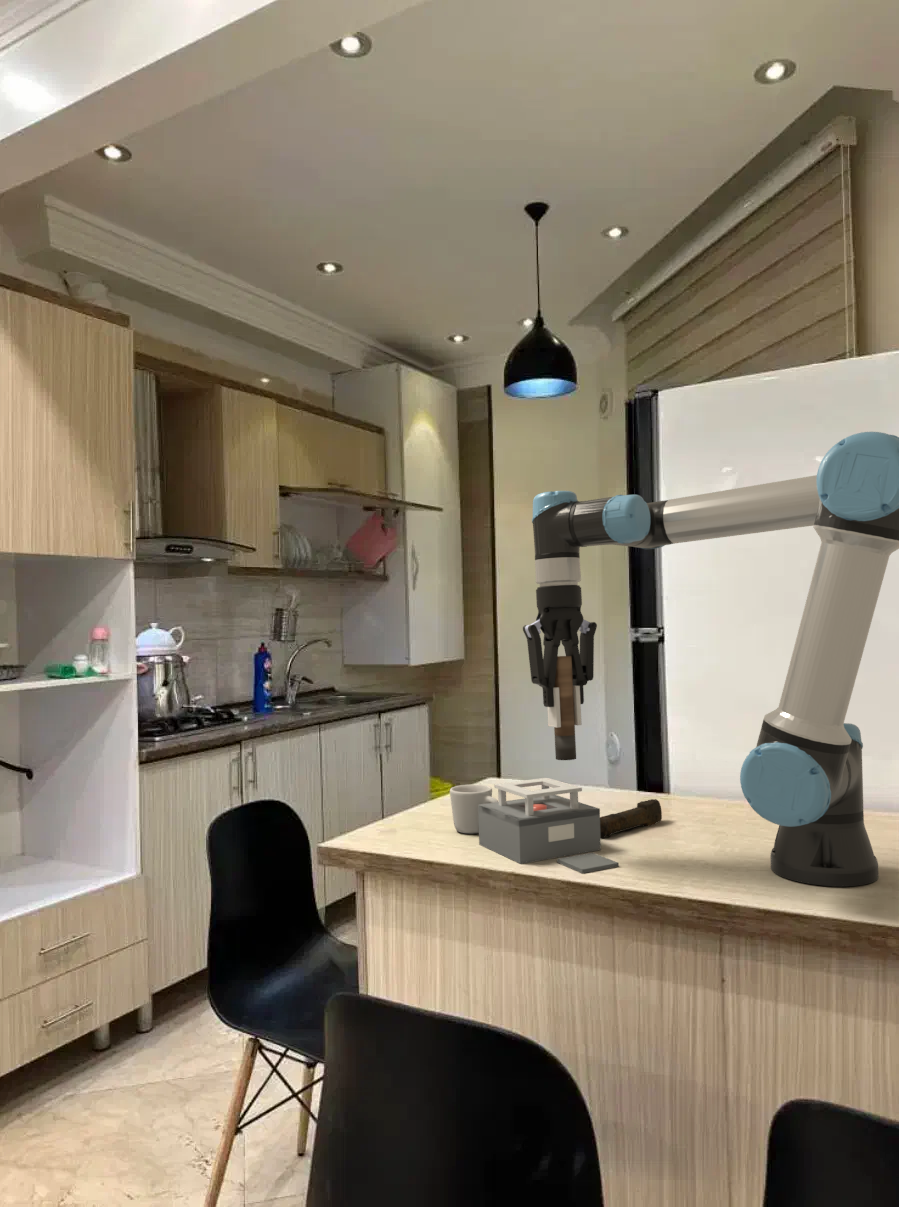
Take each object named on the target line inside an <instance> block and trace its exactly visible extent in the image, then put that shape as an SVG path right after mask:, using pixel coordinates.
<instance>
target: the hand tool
mask: <svg viewBox="0 0 899 1207" xmlns="http://www.w3.org/2000/svg"><path fill="white" fill-rule="evenodd" d="M662 819H663V812H662V806H661V803H660V801H659V800H658V799H656V798H655V799H652V798H651V799H648V800H644V801H639V802H637V803H636V807H633V808H630V809H628V810H627V809H626V810H622V811H619V812H615V813H610V814H607V815H604V816H603V815H602V816H600V837H601V840H603V839H605V838H606V837H611V835H613V834H615V833H619V832H622V831H626V830H629V829H633V828H636V827H639V826H642V827H651V826H654V825H656V824H658V823H660V821H662Z"/></svg>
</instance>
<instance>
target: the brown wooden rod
mask: <svg viewBox="0 0 899 1207" xmlns="http://www.w3.org/2000/svg"><path fill="white" fill-rule="evenodd" d="M554 687H558V688H559V696H560V718H561V727H558V728H557V727H553V730H554V750H555V751H554V752H555V760H558V761H574V760H576V759H577V747H576V746H577V745H576V743H577V742H576V727H575V726H576V725H575V720H574V699H573V678H572V657H571V656H566V655H558V656H557V667H556V677H555V685H554Z"/></svg>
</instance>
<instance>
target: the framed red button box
mask: <svg viewBox="0 0 899 1207" xmlns="http://www.w3.org/2000/svg"><path fill="white" fill-rule="evenodd" d="M493 785H494V786H493V788H494V789H497V790H498V792H497V794H498V795H497V796H498V799H497V800H498V802H495V803H488V804H480V805H478V816H479V833H478V843H479V846H482V847H484V848H486V849H488V850H490V851H492V852H495V853H496V854H498V855H501V856H502V857H505V858H507V859H510V860H511V861H514V862H516V863H518V864H520V865H522V864H526V863H532V862H538V861H544V860H550V859H551V860H552V859H554V858H555V859H556V858H563V857H569V856H572V855H573V856H575V855H581V854H586V853H592V852H596V851H601V849H602V844H601V843H602V842H601V840H602V839H601V837H600V817H601V812H600V811H601V809H600V808H598V807H596V806H592V805H589V804H587V803H583V802H579V792H582V791H583V787H581V786H579V785H574V784H572V783H571V784H570V783H567V782H562V781H560V780H557V779H553V778H549V777H540V778H532V779H525V780H518V781H509V782H502V783H501V782H499V783H495V784H493ZM534 786H541V789H534V790H531V789H527V788H528V787H534ZM507 793H508V794H512V795H515V796H518V797H520V798H519V799H512V800H507ZM565 794H569V798H567V797H564V796H560V795H565ZM533 804H544V805H546V806H547V809H545V810H538V811H533Z"/></svg>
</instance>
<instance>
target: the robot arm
mask: <svg viewBox="0 0 899 1207" xmlns="http://www.w3.org/2000/svg"><path fill="white" fill-rule="evenodd" d="M531 523H532V530H533V543H534V544H533V545H534V568H535V583H536V584H537V585H539V587H537V589H535V594H536V595H535V596H536V608H537V616H536V620H534V622H532V623H530V624H524V626H522V631H523V633H524V636H525V638H526V642H527V650H528V651H527V652H528V660H529V661H528V662H529V668H530V679H531V683H532V684H534V685H537V686H539V687H541V688H542V703H543V706H544V707H545V708H547V725H548V727H552V728H554V727H557V728H558V727H561V718H560V696H559V688H558V687H554V685H555V677H556V667H557V656H559V655H558V653H559V647H560V646H561V644H562V646H563V648H564V653H565V656H571V657H572V678H573V699H574V720H575V726H582V706H581V705H583V704H584V702H585V696H584V694H585V692H584V686H586V685H587V684H588V682H589V681H592V680H594V669H595V668H594V665H595V664H594V663H595V662H594V661H595V660H594V659H595V658H594V657H595V653H594V652H595V649H594V648H595V646H594V645H595V633H596V631H597V628H598V624H597V623H596V622H595V621H588V620H586V619H584V616H583V614H582V612H581V611H582V610H581V609H582V605H583V598H582V597H583V595H582V587H581V585H578V583H580V582H581V581H582V574H581V573H582V572H581V559H580V551H581V550H580V549H581V548H585V547H586V548H587V547H594V546H595V547H596V546H606V545H607V546H609V545H610V546H613V545H614V546H621V547H630V548H631V547H633V548H639V549H643V550H655V549H660V548H663V547H665V546H669V545H673V544H679V543H680V544H681V543H689V542H698V541H704V540H713V539H720V538H727V537H735V536H742V535H749V534H750V535H751V534H758V533H768V532H774V531H782V530H788V529H789V530H790V529H796V528H804V527H805V528H806V527H812V526H813V528H814V531H816V534H817V535H818V536H819V538H820V542H821V544H820V547H819V551H818V554H817V558H816V562H815V566H814V569H813V574H812V578H811V581H810V585H809V589H808V593H807V596H806V599H805V605H804V608H803V612H802V615H801V616H802V617H801V620H800V623H799V626H798V627H799V628H798V630H797V635H796V639H795V644H794V647H793V651H792V654H791V658H790V662H789V666H788V670H787V673H786V677H785V680H784V686H783V688H782V692H781V696H780V699H779V703H778V704H779V705H778V707H777V708H775V709H774V710H773V711H770V712H768V713H766V714H765V715H764V717H763V720H762V724H761V728H760V732H759V735H758V739H757V743H756V746H755V748H753V749H751V750H750V751H749V754H748V755H747V756H746V758H745V759H744V761H743V763H742V766H741V767H740V768H741V769H740V773H739V774H740V775H739V782H740V787H741V791H742V793H743V796H744V798H745V799H746V801H747V803H748V804H749V806H750V808H751V809H752V810H753V811H754V812H755V813H756V814H757V815H759V816H760V817H762V818H763V819H764V820H766V821H768V822H770V823H772V824H775V825H778V829H777V832H776V835H775V836H776V837H775V839H774V844H773V847H772V849H771V851H770V869H771V871H772V872H773V873H774V874H776V875H777V876H779V877H782V878H785V879H788V880H790V881H795V882H799V883H804V884H809V885H814V886H815V885H816V886H817V885H818V886H823V887H824V886H825V887H856V886H863V885H867V884H871V883H874V882H876V881H877V880H878V879H879V861H878V859H877V857H876V855H875V854H874V850H873V846H872V844H871V841H870V838H869V835H868V833H867V829H866V826H865V820H864V819H865V818H864V816H865V815H864V785H863V784H864V783H863V780H864V779H863V776H864V775H863V751H862V750H863V748H864V744H863V741H862V736H861V734H862V733H861V730H860V727H858V726H857V725H856V724H853V723H848V722H847V723H845V719H846V716H847V712H848V709H849V705H850V702H851V698H852V694H853V691H854V687H855V683H856V679H857V675H858V672H859V669H860V665H861V661H862V657H863V654H864V650H865V646H866V642H867V639H868V635H869V633H870V628H871V624H872V621H873V617H874V614H875V610H876V607H877V602H878V599H879V596H880V591H881V588H882V584H883V581H884V576H885V573H886V569H887V566H888V562H889V558H890V556H891V554H892V553H894V552H896V551H898V550H899V436H897V435H894V434H888V433H885V432H880V431H864V432H863V431H861V432H858V433H854V434H851V435H848V436H846V437H845V438H843V439H841V440H839V441H838V442H836V444H834V445H833V446H832V447H831V448H830V449H829V450H828V451H827V452H826V453H825V454H824V456H823V458H822V459H821V461H820V463H819V466H818V468H817V472H816V474H815V475H810V476H804V477H799V478H793V479H792V478H791V479H786V480H779V481H773V482H767V483H761V484H756V485H750V486H743V487H737V488H731V489H725V490H718V491H714V492H707V493H701V494H695V495H694V494H693V495H690V496H685V497H684V496H683V497H676V498H671V499H665V500H659V501H658V500H657V501H653V502H646V501H645V500H644V498H643V497H642V496H641V495H639V494H625V495H624V494H616V495H615V496H609V497H604V498H603V497H602V498H601V497H600V498H597V499H596V498H595V499H590V500H582V501H581V500H580V501H579V500H578V497H577V494H576V493H575V492H573V491H570V490H554V491H544V492H541V493H538V494H536V495H535V496H534V498H533V501H532V518H531ZM578 632H580V635H579V634H578ZM542 633H543V643H542V639H541V635H540V634H542ZM542 646H544V648H543V647H542Z"/></svg>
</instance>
